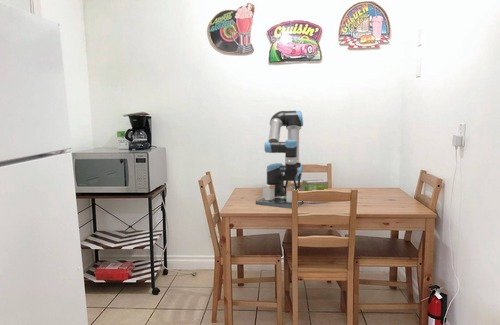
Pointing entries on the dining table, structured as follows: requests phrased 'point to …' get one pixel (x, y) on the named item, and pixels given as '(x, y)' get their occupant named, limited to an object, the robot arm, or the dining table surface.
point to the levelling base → (276, 202)
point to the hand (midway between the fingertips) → (290, 198)
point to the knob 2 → (289, 193)
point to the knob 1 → (268, 192)
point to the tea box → (314, 186)
